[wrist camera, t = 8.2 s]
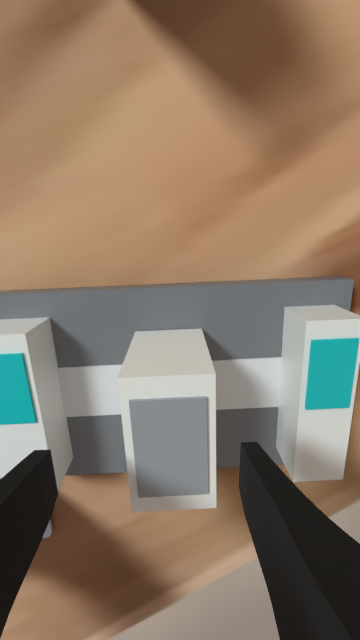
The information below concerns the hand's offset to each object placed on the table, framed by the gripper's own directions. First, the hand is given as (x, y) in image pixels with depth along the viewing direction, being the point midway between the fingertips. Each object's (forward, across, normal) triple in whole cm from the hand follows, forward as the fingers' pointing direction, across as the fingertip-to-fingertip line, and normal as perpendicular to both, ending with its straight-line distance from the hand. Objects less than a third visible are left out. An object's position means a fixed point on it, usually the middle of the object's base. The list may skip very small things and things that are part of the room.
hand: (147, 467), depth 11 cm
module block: (+8, -1, 0) cm, 8 cm away
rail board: (+9, -1, +1) cm, 9 cm away
